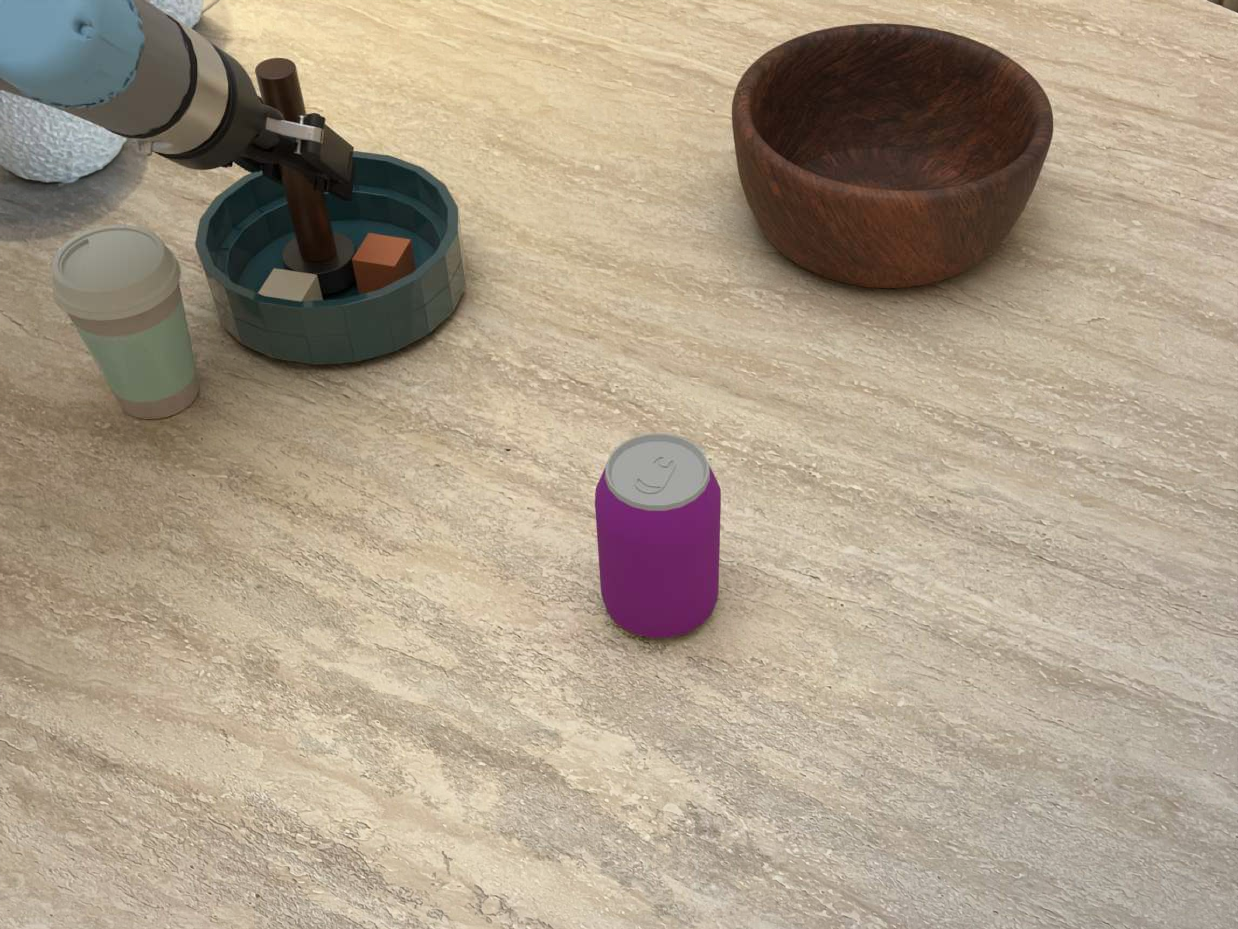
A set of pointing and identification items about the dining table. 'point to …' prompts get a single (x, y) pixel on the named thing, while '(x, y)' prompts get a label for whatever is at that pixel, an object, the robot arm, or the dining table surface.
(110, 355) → the coffee cup
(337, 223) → the stir bowl
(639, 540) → the beverage can
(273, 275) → the cream block
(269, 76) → the muddler
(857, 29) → the wooden bowl
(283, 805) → the dining table surface
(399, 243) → the terracotta block
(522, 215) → the dining table surface
